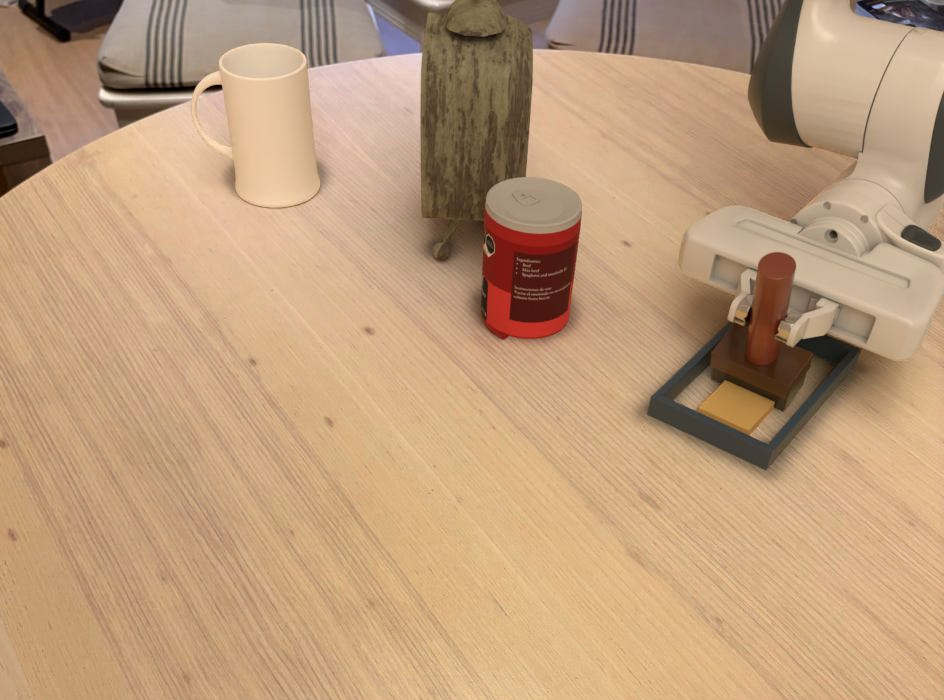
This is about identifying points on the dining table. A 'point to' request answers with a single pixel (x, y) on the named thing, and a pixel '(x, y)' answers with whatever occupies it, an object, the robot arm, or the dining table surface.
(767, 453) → the tray
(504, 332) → the canned food
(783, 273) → the brush
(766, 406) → the tan square tile
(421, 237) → the dining table surface
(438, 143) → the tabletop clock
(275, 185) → the mug
